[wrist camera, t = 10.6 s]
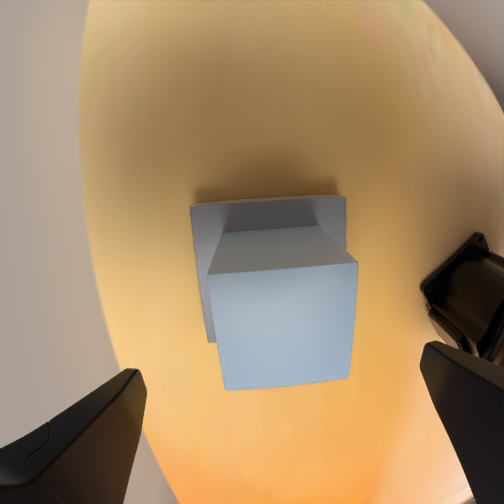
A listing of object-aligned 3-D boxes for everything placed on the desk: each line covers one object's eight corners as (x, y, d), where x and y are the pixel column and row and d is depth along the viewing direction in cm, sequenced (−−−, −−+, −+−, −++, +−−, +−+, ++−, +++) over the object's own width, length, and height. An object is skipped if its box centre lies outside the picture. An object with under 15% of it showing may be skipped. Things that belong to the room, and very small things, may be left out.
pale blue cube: (319, 225, 15) (357, 262, 10) (319, 311, 17) (348, 378, 11) (222, 232, 16) (206, 274, 10) (231, 319, 17) (225, 390, 11)
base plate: (337, 194, 16) (366, 205, 12) (335, 320, 19) (356, 361, 14) (194, 202, 17) (176, 217, 12) (210, 329, 19) (201, 373, 15)
